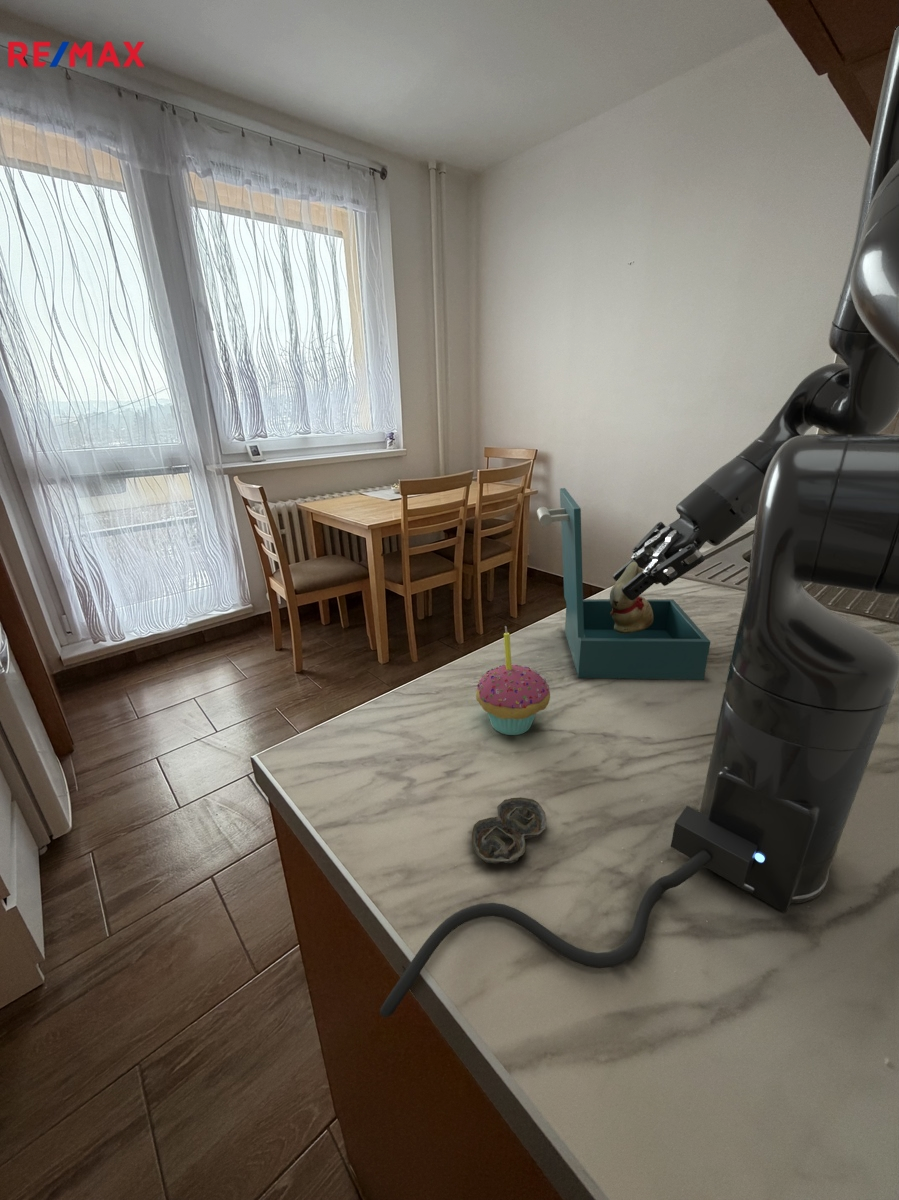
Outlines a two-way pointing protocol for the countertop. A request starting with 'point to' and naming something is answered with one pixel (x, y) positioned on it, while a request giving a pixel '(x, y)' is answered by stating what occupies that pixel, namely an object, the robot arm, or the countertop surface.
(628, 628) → the chocolate bunny
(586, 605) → the chest
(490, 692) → the cupcake
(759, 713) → the robot arm
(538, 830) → the corroded twin loop
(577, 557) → the chest lid
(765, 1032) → the countertop surface
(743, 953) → the countertop surface
